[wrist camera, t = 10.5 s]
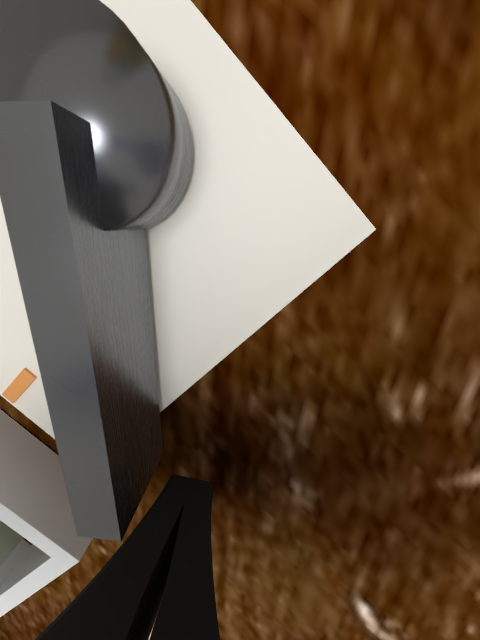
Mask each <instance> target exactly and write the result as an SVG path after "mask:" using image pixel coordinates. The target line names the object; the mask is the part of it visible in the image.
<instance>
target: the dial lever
mask: <svg viewBox="0 0 480 640" xmlns="http://www.w3.org/2000/svg"><path fill="white" fill-rule="evenodd" d="M192 163H193V143H192V135H191V130H190V125H189V122H188V119H187V115H186V113H185V110H184V108H183V106H182V104H181V101H180V100H179V98H178V96H177V95H176V93H175V91H174V90H173V88H172V87H171V86H170V84H169V83H168V81H167V80H166V79H165V77H164V76H163V75H162V73H161V72H160V70H159V69H158V68H157V66H156V65H155V64H154V62H153V61H152V59H151V58H150V57H149V55H148V54H147V53H146V51H145V50H144V48H143V47H142V46H141V44H140V43H139V42H138V40H137V39H136V37H135V36H134V35H133V34H132V32H131V31H130V30H129V28H128V27H127V26H126V24H125V23H124V22H123V21H122V20H121V19H120V18H119V17H118V16H117V15H116V14H115V13H114V12H113V11H112V10H111V9H110V8H109V7H107V6H106V5H105V4H104V3H102V2H101V1H100V0H0V198H1V203H2V207H3V212H4V216H5V220H6V225H7V229H8V234H9V238H10V242H11V247H12V251H13V256H14V260H15V264H16V269H17V273H18V278H19V282H20V286H21V291H22V295H23V300H24V304H25V308H26V313H27V317H28V322H29V326H30V330H31V335H32V339H33V344H34V348H35V352H36V357H37V361H38V366H39V370H40V374H41V379H42V383H43V388H44V392H45V397H46V401H47V405H48V410H49V414H50V419H51V423H52V427H53V432H54V436H55V441H56V445H57V449H58V454H59V458H60V463H61V467H62V471H63V476H64V480H65V485H66V489H67V493H68V498H69V502H70V507H71V511H72V515H73V520H74V524H75V529H76V533H77V536H83V537H90V538H98V539H105V540H113V541H120V542H121V541H122V539H123V536H124V534H125V532H126V530H127V528H128V526H129V524H130V522H131V520H132V518H133V516H134V513H135V511H136V509H137V507H138V505H139V503H140V501H141V499H142V497H143V495H144V493H145V490H146V488H147V486H148V484H149V482H150V480H151V478H152V476H153V474H154V472H155V470H156V467H157V465H158V463H159V461H160V459H161V457H162V455H163V445H162V433H161V421H160V408H159V396H158V384H157V372H156V359H155V347H154V335H153V323H152V311H151V298H150V286H149V274H148V262H147V249H146V237H145V229H148V228H151V227H153V226H154V225H156V224H158V223H160V222H161V221H162V220H164V219H165V218H166V217H167V216H168V215H169V214H170V213H171V212H172V211H173V210H174V209H175V208H176V206H177V205H178V204H179V202H180V200H181V199H182V197H183V195H184V193H185V191H186V188H187V186H188V183H189V179H190V175H191V170H192Z"/></svg>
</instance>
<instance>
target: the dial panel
mask: <svg viewBox="0 0 480 640" xmlns="http://www.w3.org/2000/svg"><path fill="white" fill-rule="evenodd" d="M100 1H101V2H102V3H104V4H105V5H106V6H107V7H109V8H110V9H111V10H112V11H113V12H114V13H115V14H116V15H117V16H118V17H119V18H120V19H121V20H122V21H123V22H124V23H125V24H126V26H127V27H128V28H129V30H130V31H131V32H132V34H133V35H134V36H135V37H136V39H137V40H138V42H139V43H140V44H141V46H142V47H143V48H144V50H145V51H146V53H147V54H148V55H149V57H150V58H151V59H152V61H153V62H154V64H155V65H156V66H157V68H158V69H159V70H160V72H161V73H162V75H163V76H164V77H165V79H166V80H167V81H168V83H169V84H170V86H171V87H172V88H173V90H174V91H175V93H176V95H177V96H178V98H179V100H180V101H181V104H182V106H183V108H184V110H185V113H186V115H187V119H188V122H189V125H190V130H191V135H192V143H193V163H192V170H191V175H190V179H189V183H188V186H187V188H186V191H185V193H184V195H183V197H182V199H181V200H180V202H179V204H178V205H177V206H176V208H175V209H174V210H173V211H172V212H171V213H170V214H169V215H168V216H167V217H166V218H165V219H164V220H162V221H161V222H160V223H158V224H156V225H154V226H153V227H151V228H148V229H145V237H146V249H147V262H148V274H149V286H150V298H151V311H152V323H153V335H154V347H155V359H156V372H157V384H158V396H159V408H160V412H161V411H162V410H164V409H165V408H166V407H167V406H168V405H169V404H171V403H172V402H173V401H174V400H175V399H177V398H178V397H179V396H180V395H181V394H182V393H184V392H185V391H186V390H187V389H188V388H190V387H191V386H192V385H193V384H194V383H195V382H197V381H198V380H199V379H200V378H201V377H202V376H204V375H205V374H206V373H207V372H208V371H210V370H211V369H212V368H213V367H214V366H215V365H217V364H218V363H219V362H220V361H221V360H223V359H224V358H225V357H226V356H227V355H228V354H230V353H231V352H232V351H233V350H234V349H235V348H237V347H238V346H239V345H240V344H241V343H243V342H244V341H245V340H246V339H247V338H248V337H250V336H251V335H252V334H253V333H254V332H256V331H257V330H258V329H259V328H260V327H261V326H263V325H264V324H265V323H266V322H267V321H268V320H270V319H271V318H272V317H273V316H274V315H276V314H277V313H278V312H279V311H280V310H281V309H283V308H284V307H285V306H286V305H287V304H289V303H290V302H291V301H292V300H293V299H294V298H296V297H297V296H298V295H299V294H300V293H301V292H303V291H304V290H305V289H306V288H307V287H309V286H310V285H311V284H312V283H313V282H314V281H316V280H317V279H318V278H319V277H320V276H322V275H323V274H324V273H325V272H326V271H327V270H329V269H330V268H331V267H332V266H333V265H334V264H336V263H337V262H338V261H339V260H340V259H342V258H343V257H344V256H345V255H346V254H347V253H349V252H350V251H351V250H352V249H353V248H355V247H356V246H357V245H358V244H359V243H360V242H362V241H363V240H364V239H365V238H366V237H367V236H369V235H370V234H371V233H372V232H373V231H375V230H376V229H375V227H374V226H373V225H372V224H371V222H370V221H369V220H368V219H367V218H366V216H365V215H364V214H363V213H362V211H361V210H360V209H359V208H358V206H357V205H356V204H355V203H354V201H353V200H352V199H351V198H350V197H349V195H348V194H347V193H346V192H345V190H344V189H343V188H342V187H341V185H340V184H339V183H338V182H337V180H336V179H335V178H334V177H333V176H332V174H331V173H330V172H329V171H328V169H327V168H326V167H325V166H324V164H323V163H322V162H321V161H320V160H319V158H318V157H317V156H316V155H315V153H314V152H313V151H312V150H311V148H310V147H309V146H308V145H307V143H306V142H305V141H304V140H303V139H302V137H301V136H300V135H299V134H298V132H297V131H296V130H295V129H294V127H293V126H292V125H291V124H290V123H289V121H288V120H287V119H286V118H285V116H284V115H283V114H282V113H281V111H280V110H279V109H278V108H277V106H276V105H275V104H274V103H273V102H272V100H271V99H270V98H269V97H268V95H267V94H266V93H265V92H264V90H263V89H262V88H261V87H260V86H259V84H258V83H257V82H256V81H255V79H254V78H253V77H252V76H251V74H250V73H249V72H248V71H247V69H246V68H245V67H244V66H243V65H242V63H241V62H240V61H239V60H238V58H237V57H236V56H235V55H234V53H233V52H232V51H231V50H230V48H229V47H228V46H227V45H226V44H225V42H224V41H223V40H222V39H221V37H220V36H219V35H218V34H217V32H216V31H215V30H214V29H213V28H212V26H211V25H210V24H209V23H208V21H207V20H206V19H205V18H204V16H203V15H202V14H201V13H200V11H199V10H198V9H197V8H196V7H195V5H194V4H193V3H192V2H191V0H100ZM0 395H1V396H2V397H3V398H5V399H6V400H7V401H8V402H9V403H11V404H12V405H13V406H14V407H16V408H17V409H18V410H19V411H21V412H22V413H23V414H24V415H25V416H27V417H28V418H29V419H30V420H32V421H33V422H34V423H35V424H37V425H38V426H39V427H40V428H41V429H43V430H44V431H45V432H46V433H48V434H49V435H50V436H51V437H53V438H54V439H55V436H54V432H53V427H52V423H51V419H50V414H49V410H48V405H47V401H46V397H45V392H44V388H43V383H42V379H41V374H40V370H39V366H38V361H37V357H36V352H35V348H34V344H33V339H32V335H31V330H30V326H29V322H28V317H27V313H26V308H25V304H24V300H23V295H22V291H21V286H20V282H19V278H18V273H17V269H16V264H15V260H14V256H13V251H12V247H11V242H10V238H9V234H8V229H7V225H6V220H5V216H4V212H3V207H2V203H1V198H0Z"/></svg>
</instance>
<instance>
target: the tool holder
mask: <svg viewBox="0 0 480 640" xmlns="http://www.w3.org/2000/svg"><path fill="white" fill-rule="evenodd" d="M0 520H1V521H2V522H3V523H5V524H6V525H7V526H9V527H10V528H12V529H13V530H14V531H16V532H17V533H18V534H20V535H21V536H22V537H24V538H25V539H27V540H28V541H29V542H31V543H32V544H33V545H31V544H29V543H28V542H27V541H25V540H24V539H22V540H21V541H20V542H19V544H18V545H17V546H16V547H15V549H14V550H13V551H12V552H11V554H10V555H9V556H8V558H7V559H6V560H5V561H4V563H3V564H2V565H1V566H0V617H1V616H2V615H4V614H5V613H7V612H8V611H9V610H11V609H12V608H14V607H15V606H17V605H18V604H19V603H21V602H22V601H24V600H25V599H27V598H28V597H29V596H31V595H32V594H34V593H35V592H37V591H38V590H39V589H41V588H42V587H44V586H45V585H47V584H48V583H49V582H51V581H52V580H54V579H55V578H57V577H58V576H59V575H61V574H62V573H64V572H65V571H67V570H68V569H69V568H71V567H72V566H74V565H75V564H77V563H78V562H79V561H80V560H81V558H82V556H83V554H84V553H85V551H86V549H87V547H88V546H89V544H90V542H91V540H92V539H93V538H90V537H83V536H77V533H76V529H75V524H74V520H73V515H72V511H71V507H70V502H69V498H68V493H67V489H66V485H65V480H64V476H63V471H62V467H61V463H60V458H59V456H58V455H57V454H56V453H54V452H53V451H52V450H51V449H49V448H48V447H47V446H46V445H44V444H43V443H42V442H41V441H39V440H38V439H37V438H36V437H34V436H33V435H32V434H31V433H29V432H28V431H27V430H26V429H25V428H23V427H22V426H21V425H20V424H18V423H17V422H16V421H15V420H13V419H12V418H11V417H10V416H8V415H7V414H6V413H5V412H3V411H2V410H1V409H0Z"/></svg>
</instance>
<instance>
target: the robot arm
mask: <svg viewBox="0 0 480 640" xmlns="http://www.w3.org/2000/svg"><path fill="white" fill-rule="evenodd" d="M213 489H214V486H213V484H212V483H210V482H206V481H202V480H197V479H193V478H188V477H184V476H180V475H173V476H171V477H170V479H169V481H168V483H167V484H166V486H165V487H164V489H163V491H162V492H161V494H160V495H159V497H158V498H157V500H156V501H155V502H154V504H153V505H152V507H151V508H150V509H149V511H148V512H147V514H146V515H145V516H144V518H143V519H142V520H141V521H140V523H139V524H138V525H137V527H136V528H135V529H134V530H133V532H132V533H131V534H130V536H129V537H128V538H127V539H126V541H125V542H124V543H123V544H122V546H121V547H120V548H119V549H118V550H117V552H116V553H115V554H114V555H113V556H112V557H111V559H110V560H109V561H108V562H107V563H106V564H105V566H104V567H103V568H102V569H101V570H100V572H99V573H98V574H97V575H96V576H95V577H94V578H93V579H92V581H91V582H90V583H89V584H88V585H87V586H86V587H85V588H84V589H83V591H82V592H81V593H80V594H79V595H78V596H77V597H76V598H75V599H74V600H73V601H72V602H71V603H70V604H69V605H68V607H67V608H66V609H65V610H64V611H63V612H62V613H61V614H60V615H59V616H58V617H57V618H56V619H55V620H54V621H53V622H52V623H51V624H50V625H49V626H48V627H47V628H46V629H45V630H44V631H43V632H42V633H41V634H40V635H39V636H38V637H37V638H36V639H35V640H148V638H149V636H150V633H151V630H152V627H153V624H154V621H155V619H156V621H155V624H154V627H153V630H152V634H151V637H150V640H220V636H219V628H218V620H217V612H216V602H215V592H214V582H213V569H212V549H211V506H212V495H213ZM160 604H161V605H160ZM159 607H160V608H159ZM158 610H159V611H158ZM157 613H158V614H157ZM156 616H157V618H156Z"/></svg>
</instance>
